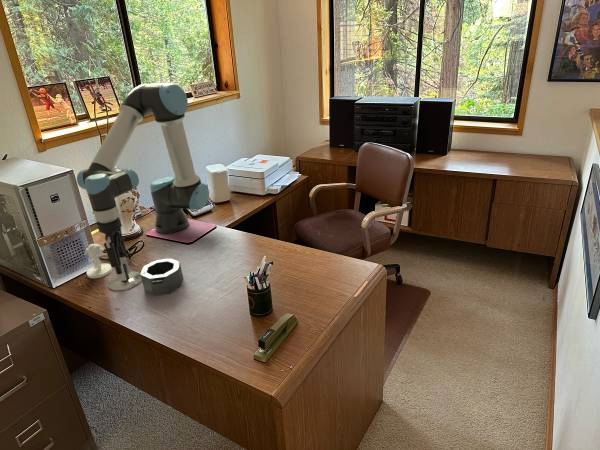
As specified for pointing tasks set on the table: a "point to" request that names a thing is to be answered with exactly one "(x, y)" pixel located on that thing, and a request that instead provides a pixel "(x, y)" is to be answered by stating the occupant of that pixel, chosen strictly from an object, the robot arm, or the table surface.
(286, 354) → the table surface
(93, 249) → the figurine
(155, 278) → the pot
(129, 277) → the black peg on disc
